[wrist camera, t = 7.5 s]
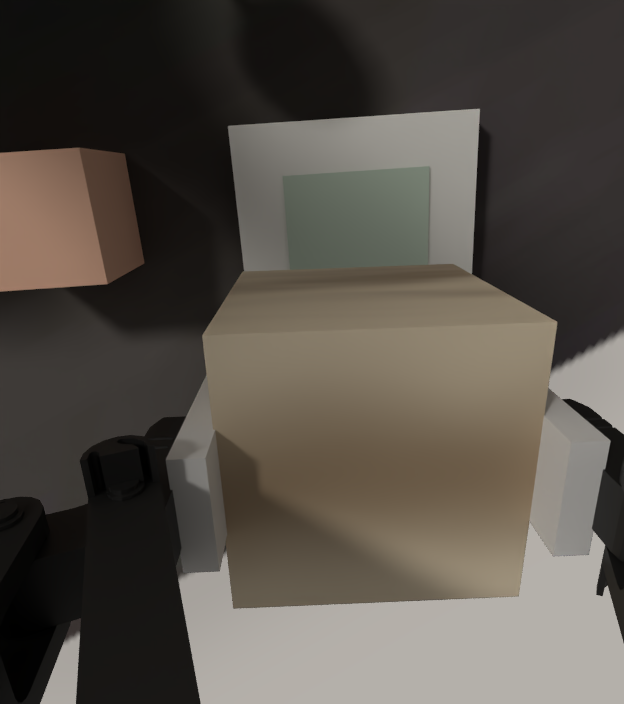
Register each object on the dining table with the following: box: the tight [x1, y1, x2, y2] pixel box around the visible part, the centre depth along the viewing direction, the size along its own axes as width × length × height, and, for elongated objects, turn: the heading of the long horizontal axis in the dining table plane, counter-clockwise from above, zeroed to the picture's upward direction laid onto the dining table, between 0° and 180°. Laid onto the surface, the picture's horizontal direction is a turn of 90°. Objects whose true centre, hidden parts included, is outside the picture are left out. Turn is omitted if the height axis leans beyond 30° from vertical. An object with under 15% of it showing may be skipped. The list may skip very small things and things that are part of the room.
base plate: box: [228, 109, 480, 274], centre depth 32 cm, size 15×15×2 cm
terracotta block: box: [0, 148, 144, 292], centre depth 29 cm, size 7×7×7 cm
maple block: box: [202, 264, 557, 609], centre depth 14 cm, size 7×7×7 cm
